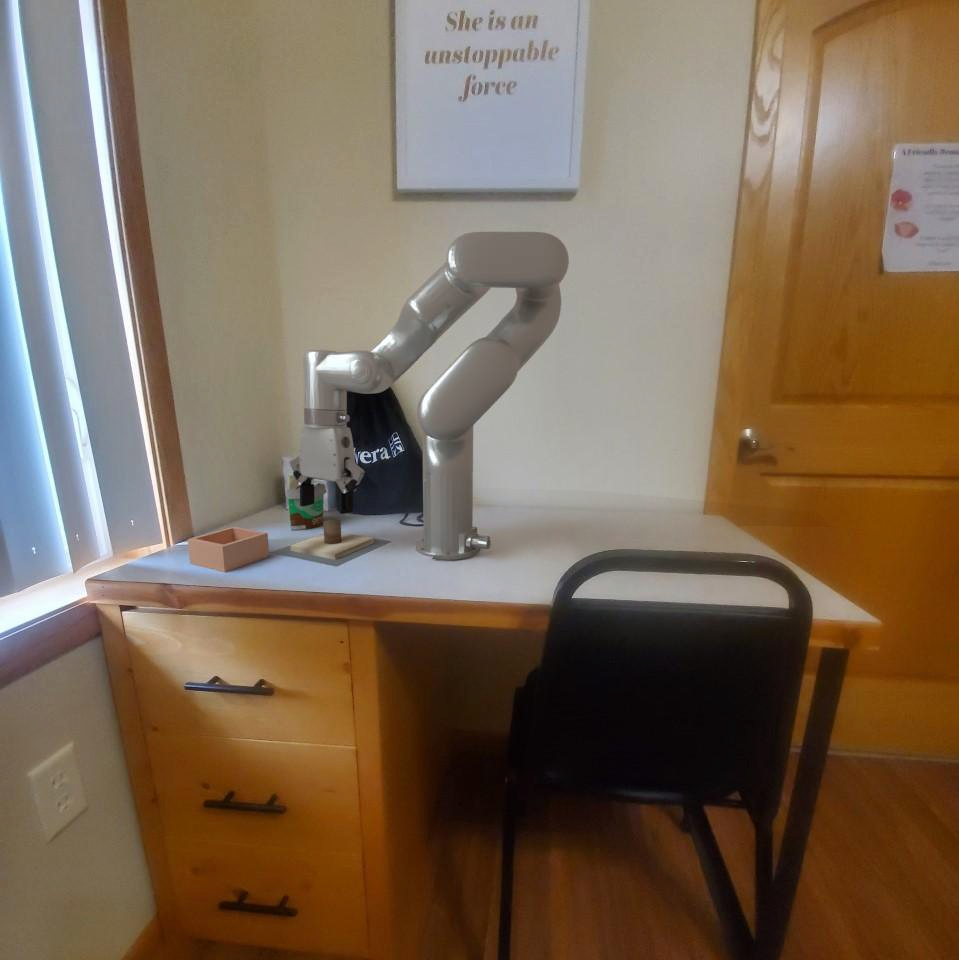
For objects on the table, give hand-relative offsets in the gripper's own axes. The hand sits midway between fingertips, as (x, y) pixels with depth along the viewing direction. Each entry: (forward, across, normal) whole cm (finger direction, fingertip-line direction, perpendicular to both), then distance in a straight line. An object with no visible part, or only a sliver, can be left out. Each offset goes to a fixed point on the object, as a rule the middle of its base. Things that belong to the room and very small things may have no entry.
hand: (326, 508), depth 92 cm
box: (+9, +23, -16) cm, 29 cm away
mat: (+8, -1, -1) cm, 8 cm away
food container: (+9, +14, -11) cm, 19 cm away
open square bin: (+9, +10, +13) cm, 19 cm away
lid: (+7, -1, -1) cm, 8 cm away
